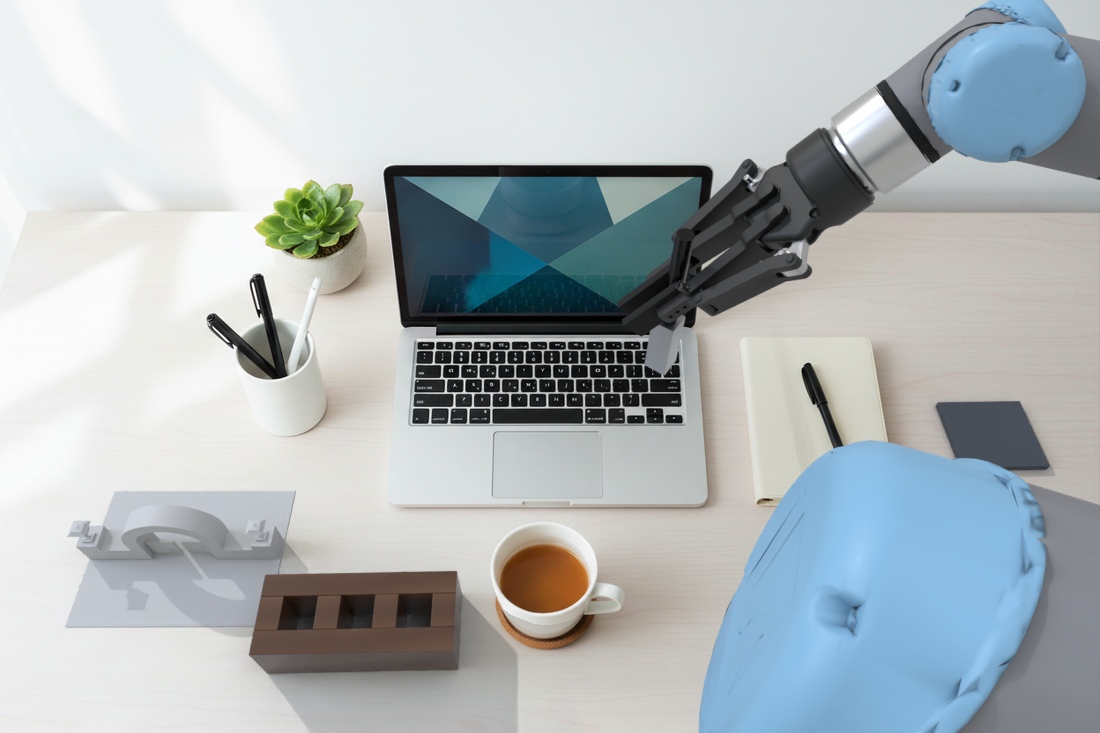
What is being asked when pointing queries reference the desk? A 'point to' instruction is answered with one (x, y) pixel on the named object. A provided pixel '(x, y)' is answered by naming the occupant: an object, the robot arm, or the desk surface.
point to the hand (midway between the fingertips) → (629, 319)
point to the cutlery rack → (332, 630)
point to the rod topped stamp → (669, 334)
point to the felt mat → (992, 433)
